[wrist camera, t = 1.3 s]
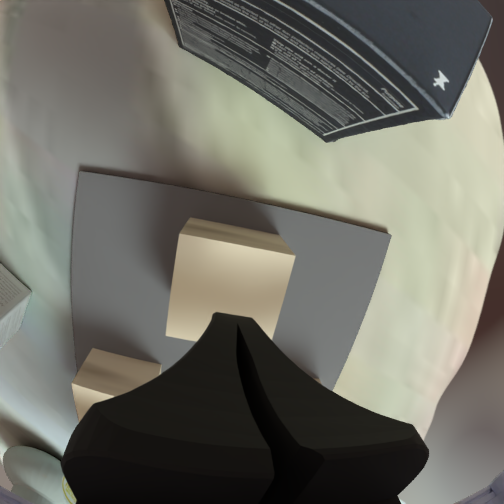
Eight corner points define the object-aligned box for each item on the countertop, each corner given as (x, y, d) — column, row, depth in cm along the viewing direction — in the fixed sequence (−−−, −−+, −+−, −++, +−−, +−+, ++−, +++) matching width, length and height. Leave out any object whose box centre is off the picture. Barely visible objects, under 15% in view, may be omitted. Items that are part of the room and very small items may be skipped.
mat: (306, 435, 22) (307, 438, 22) (83, 401, 20) (82, 404, 19) (388, 233, 18) (391, 235, 18) (82, 171, 15) (79, 171, 15)
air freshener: (92, 493, 25) (77, 551, 15) (40, 476, 24) (20, 527, 14) (65, 447, 22) (37, 518, 12) (7, 426, 21) (-26, 484, 11)
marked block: (158, 412, 20) (150, 453, 16) (97, 397, 19) (81, 435, 15) (161, 364, 19) (150, 407, 15) (92, 347, 18) (70, 385, 14)
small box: (381, 71, 15) (502, 19, 5) (328, 147, 16) (452, 135, 6) (241, -22, 13) (258, -141, 3) (174, 47, 14) (124, -66, 4)
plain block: (259, 314, 18) (268, 352, 14) (176, 300, 17) (165, 335, 14) (279, 235, 17) (295, 255, 13) (190, 217, 16) (179, 233, 12)
